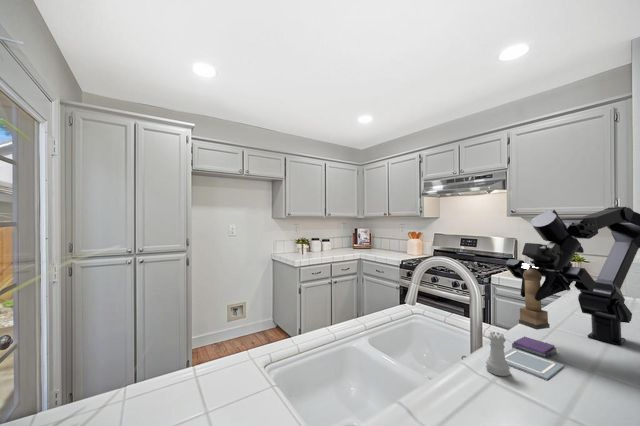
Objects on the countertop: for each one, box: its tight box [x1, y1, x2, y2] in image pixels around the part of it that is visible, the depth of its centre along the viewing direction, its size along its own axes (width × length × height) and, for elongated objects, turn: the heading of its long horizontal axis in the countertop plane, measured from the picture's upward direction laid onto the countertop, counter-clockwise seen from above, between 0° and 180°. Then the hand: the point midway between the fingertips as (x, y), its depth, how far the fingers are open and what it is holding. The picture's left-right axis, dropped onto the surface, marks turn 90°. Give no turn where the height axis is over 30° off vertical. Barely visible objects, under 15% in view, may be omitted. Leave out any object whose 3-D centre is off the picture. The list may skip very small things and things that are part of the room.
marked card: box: [504, 347, 565, 381], centre depth 62 cm, size 10×10×1 cm
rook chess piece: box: [485, 331, 511, 377], centre depth 59 cm, size 4×4×8 cm
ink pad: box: [511, 336, 558, 360], centre depth 69 cm, size 7×7×2 cm
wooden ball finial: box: [518, 269, 550, 331], centre depth 69 cm, size 4×4×14 cm
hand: (529, 297), depth 69 cm, fingers closed on wooden ball finial, 3 cm apart
